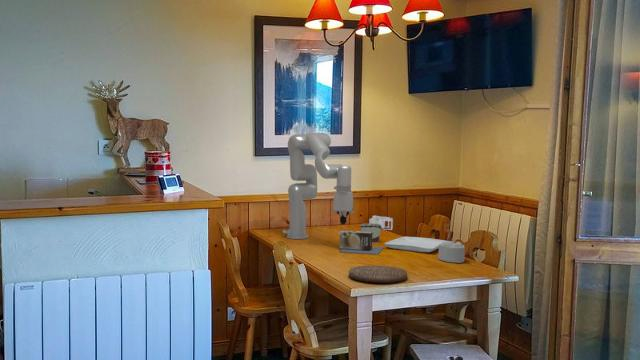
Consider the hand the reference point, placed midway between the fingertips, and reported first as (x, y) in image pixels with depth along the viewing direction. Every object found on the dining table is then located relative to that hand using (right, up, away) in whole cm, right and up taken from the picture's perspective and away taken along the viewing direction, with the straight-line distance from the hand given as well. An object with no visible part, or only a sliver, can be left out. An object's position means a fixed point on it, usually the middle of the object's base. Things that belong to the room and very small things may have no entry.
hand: (343, 224), depth 324 cm
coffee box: (-1, -8, +1) cm, 8 cm away
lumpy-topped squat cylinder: (+52, -16, -23) cm, 59 cm away
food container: (+16, -12, +25) cm, 32 cm away
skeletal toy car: (+27, -9, +75) cm, 80 cm away
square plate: (+40, -14, +8) cm, 43 cm away
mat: (+10, -14, -2) cm, 17 cm away
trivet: (+13, -18, -59) cm, 63 cm away
